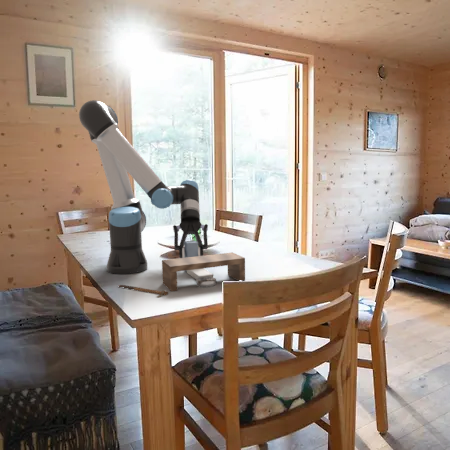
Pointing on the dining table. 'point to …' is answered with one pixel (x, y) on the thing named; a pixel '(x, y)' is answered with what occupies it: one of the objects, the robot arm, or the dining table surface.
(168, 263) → the bench
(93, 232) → the dining table surface
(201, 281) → the disc
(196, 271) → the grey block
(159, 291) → the tomahawk
